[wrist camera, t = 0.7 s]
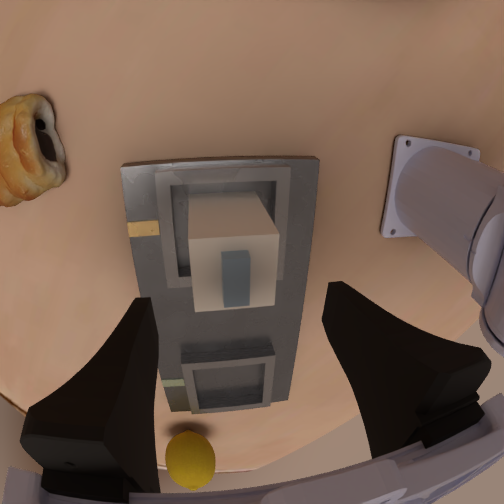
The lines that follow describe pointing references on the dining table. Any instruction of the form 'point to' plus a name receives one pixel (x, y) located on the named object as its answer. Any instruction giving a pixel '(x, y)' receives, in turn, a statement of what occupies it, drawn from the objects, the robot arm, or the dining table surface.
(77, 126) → the dining table surface
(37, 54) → the dining table surface
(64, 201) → the dining table surface
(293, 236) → the panel
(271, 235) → the plug
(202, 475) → the lemon
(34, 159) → the pastry
